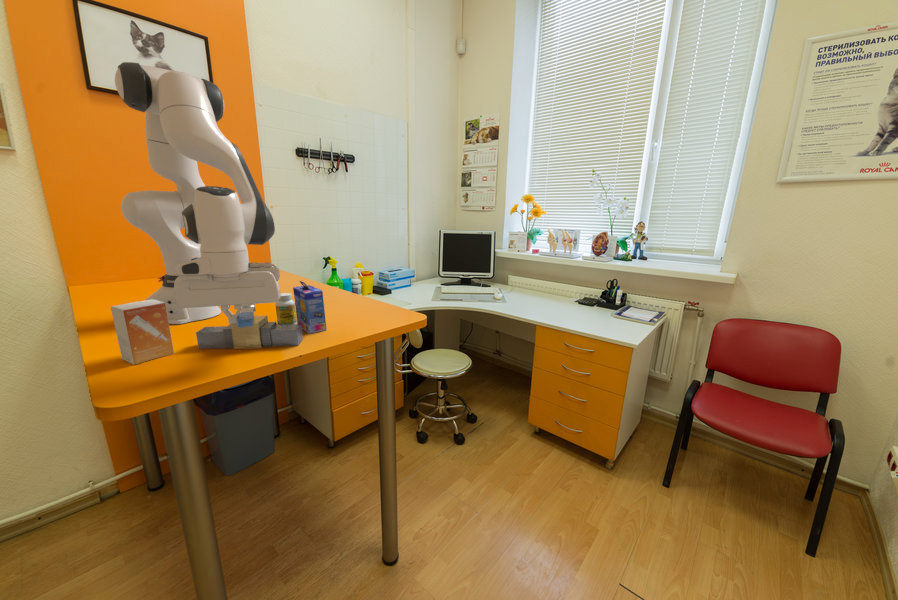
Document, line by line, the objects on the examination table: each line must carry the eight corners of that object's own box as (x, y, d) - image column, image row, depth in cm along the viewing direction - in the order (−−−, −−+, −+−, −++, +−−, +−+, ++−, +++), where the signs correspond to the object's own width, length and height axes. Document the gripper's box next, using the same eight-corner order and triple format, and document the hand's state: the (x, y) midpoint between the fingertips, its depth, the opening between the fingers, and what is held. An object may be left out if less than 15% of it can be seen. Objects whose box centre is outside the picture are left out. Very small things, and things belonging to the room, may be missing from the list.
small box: (134, 365, 79) (122, 310, 76) (121, 359, 82) (109, 305, 79) (175, 353, 86) (165, 301, 83) (162, 348, 89) (152, 298, 86)
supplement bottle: (294, 320, 112) (292, 291, 110) (298, 325, 108) (295, 295, 106) (276, 323, 109) (273, 293, 107) (279, 328, 105) (275, 297, 103)
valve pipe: (196, 350, 88) (190, 317, 86) (209, 341, 94) (204, 310, 92) (297, 347, 91) (294, 315, 89) (303, 338, 97) (301, 308, 95)
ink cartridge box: (295, 325, 108) (291, 279, 104) (313, 322, 111) (310, 277, 108) (308, 334, 101) (304, 284, 97) (327, 330, 104) (323, 282, 101)
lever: (241, 310, 91) (241, 304, 91) (255, 309, 93) (255, 303, 92) (237, 327, 79) (236, 320, 78) (253, 325, 80) (252, 318, 80)
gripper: (279, 260, 84) (285, 315, 88) (176, 262, 77) (187, 322, 81) (277, 264, 78) (282, 323, 82) (165, 267, 71) (177, 331, 75)
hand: (234, 323), depth 81 cm, fingers closed
